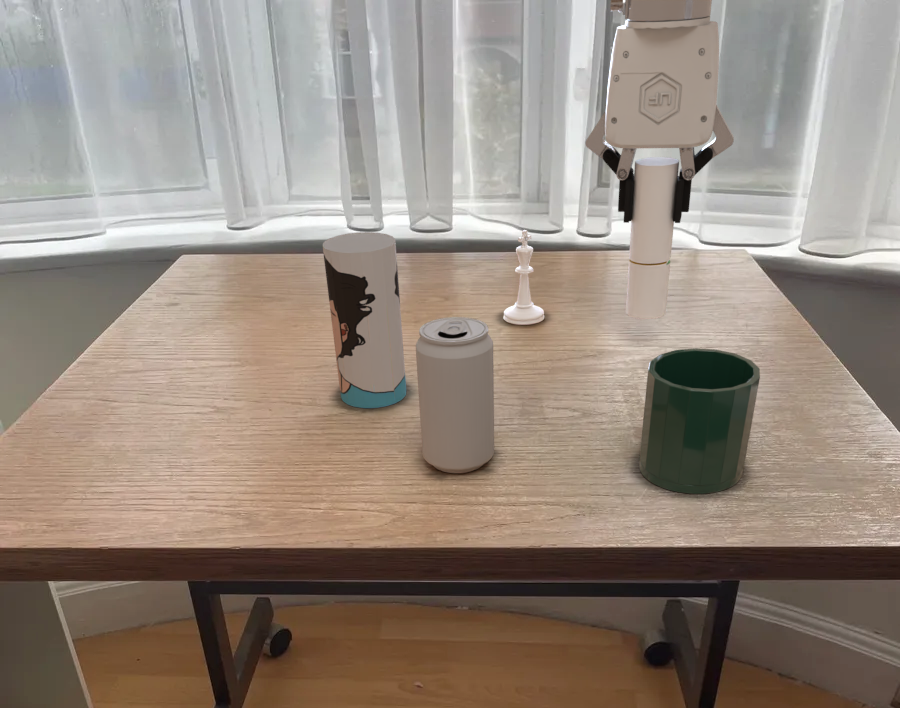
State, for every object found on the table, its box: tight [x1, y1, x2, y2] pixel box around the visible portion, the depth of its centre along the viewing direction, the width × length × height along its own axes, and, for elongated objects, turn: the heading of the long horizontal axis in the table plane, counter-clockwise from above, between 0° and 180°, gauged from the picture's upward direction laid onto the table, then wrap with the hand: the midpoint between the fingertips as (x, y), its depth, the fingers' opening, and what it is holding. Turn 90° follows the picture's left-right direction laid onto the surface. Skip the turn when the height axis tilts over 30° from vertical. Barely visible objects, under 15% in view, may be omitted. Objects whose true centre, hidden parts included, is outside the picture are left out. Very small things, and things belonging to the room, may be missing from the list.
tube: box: [625, 156, 680, 320], centre depth 93 cm, size 4×4×15 cm
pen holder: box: [638, 347, 761, 495], centre depth 74 cm, size 9×9×9 cm
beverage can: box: [415, 316, 495, 474], centre depth 76 cm, size 6×6×12 cm
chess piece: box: [502, 229, 545, 326], centre depth 105 cm, size 5×5×10 cm
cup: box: [322, 231, 407, 409], centre depth 87 cm, size 7×7×15 cm
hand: (652, 217), depth 92 cm, fingers closed on tube, 4 cm apart
